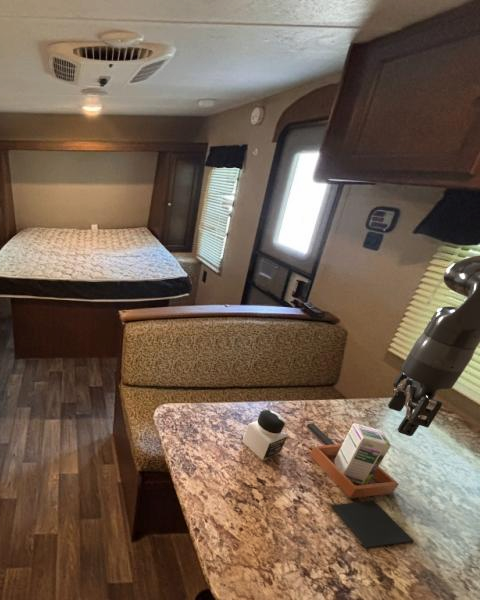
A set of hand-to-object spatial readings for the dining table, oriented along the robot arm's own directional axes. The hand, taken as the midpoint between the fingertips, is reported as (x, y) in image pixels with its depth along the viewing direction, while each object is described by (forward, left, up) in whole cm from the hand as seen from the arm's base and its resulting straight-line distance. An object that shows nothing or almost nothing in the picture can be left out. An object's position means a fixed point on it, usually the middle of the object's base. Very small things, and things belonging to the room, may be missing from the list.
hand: (398, 420), depth 69 cm
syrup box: (-5, -5, -25) cm, 26 cm away
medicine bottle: (+14, -16, -25) cm, 33 cm away
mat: (+2, +7, -25) cm, 26 cm away
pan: (-5, -9, -25) cm, 27 cm away
